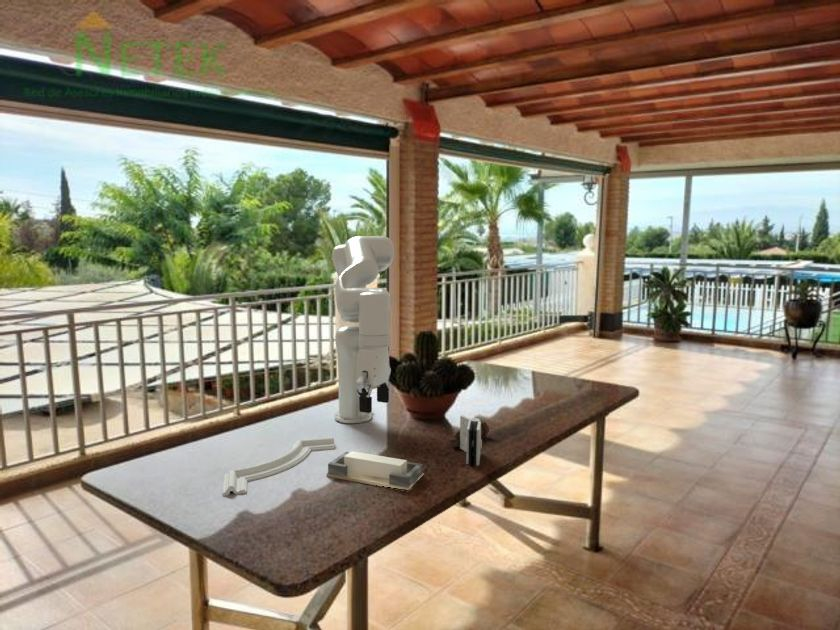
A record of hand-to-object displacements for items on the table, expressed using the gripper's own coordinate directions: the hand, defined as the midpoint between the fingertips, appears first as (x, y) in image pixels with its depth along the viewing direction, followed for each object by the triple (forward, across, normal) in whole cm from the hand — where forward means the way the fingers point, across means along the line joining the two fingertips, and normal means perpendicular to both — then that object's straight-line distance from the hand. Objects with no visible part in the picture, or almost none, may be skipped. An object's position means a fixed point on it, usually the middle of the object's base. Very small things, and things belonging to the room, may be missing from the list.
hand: (374, 406), depth 151 cm
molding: (+19, +4, -25) cm, 32 cm away
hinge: (+19, -22, +19) cm, 35 cm away
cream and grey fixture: (+18, 0, 0) cm, 18 cm away
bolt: (+19, -34, +14) cm, 42 cm away
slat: (+18, 0, 0) cm, 18 cm away
